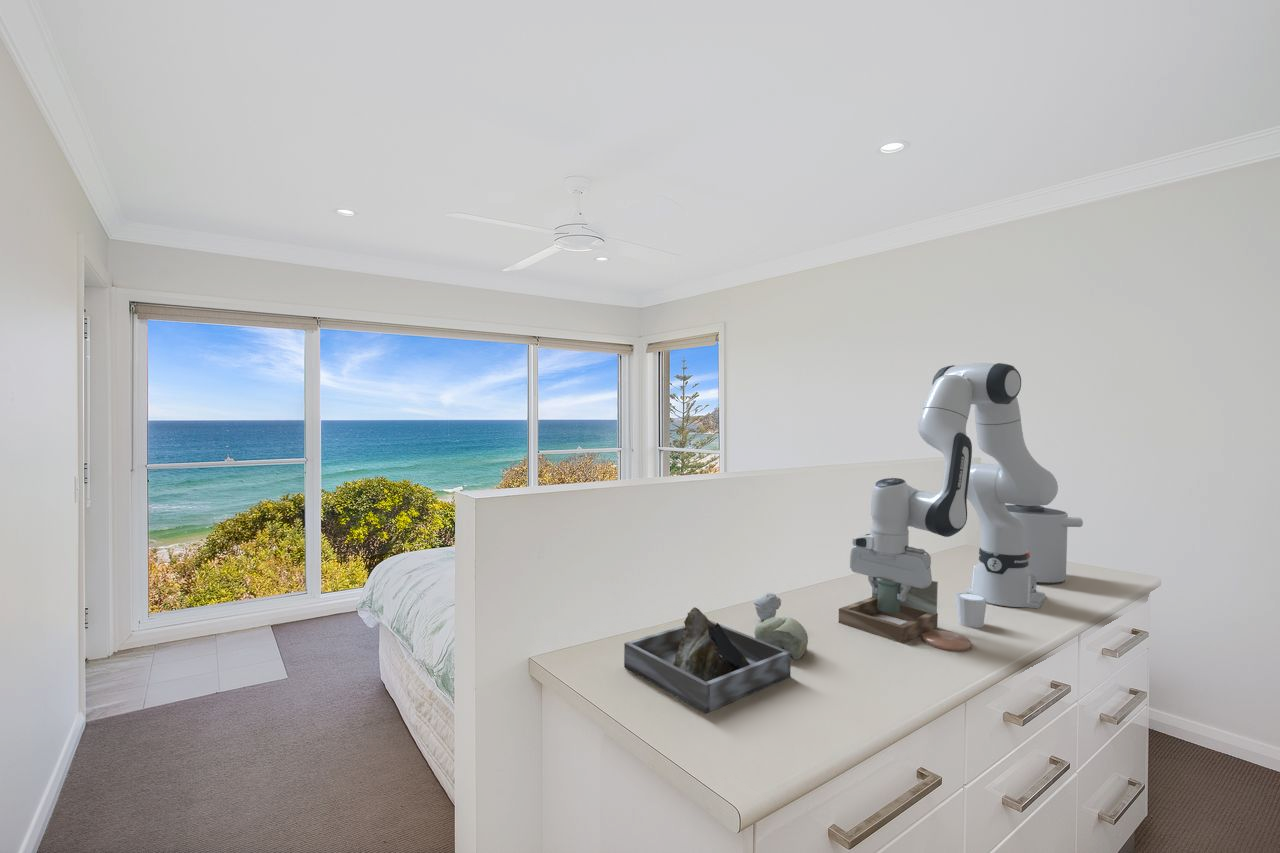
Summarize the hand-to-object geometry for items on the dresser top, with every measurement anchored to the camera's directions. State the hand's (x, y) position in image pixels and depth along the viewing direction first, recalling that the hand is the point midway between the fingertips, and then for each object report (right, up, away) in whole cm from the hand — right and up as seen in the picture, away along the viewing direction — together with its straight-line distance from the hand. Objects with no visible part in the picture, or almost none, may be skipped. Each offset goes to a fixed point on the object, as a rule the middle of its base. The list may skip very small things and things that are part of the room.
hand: (888, 597), depth 149 cm
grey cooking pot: (+67, -7, +45) cm, 81 cm away
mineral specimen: (-48, -7, -30) cm, 57 cm away
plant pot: (0, -3, 0) cm, 3 cm away
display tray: (-50, -7, -28) cm, 58 cm away
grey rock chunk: (-30, -7, +2) cm, 31 cm away
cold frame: (0, -7, 0) cm, 7 cm away
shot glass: (+21, -7, +1) cm, 23 cm away
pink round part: (+9, -7, -12) cm, 16 cm away
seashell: (-31, -7, -17) cm, 36 cm away
